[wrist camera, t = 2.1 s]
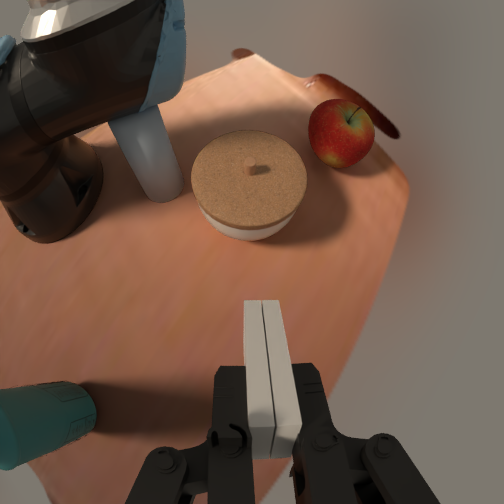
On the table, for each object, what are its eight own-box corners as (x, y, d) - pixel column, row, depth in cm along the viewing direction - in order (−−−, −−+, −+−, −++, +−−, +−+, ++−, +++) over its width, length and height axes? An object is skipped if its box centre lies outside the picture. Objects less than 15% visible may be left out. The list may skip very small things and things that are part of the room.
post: (142, 180, 35) (106, 110, 24) (178, 165, 36) (151, 90, 25) (150, 209, 33) (109, 136, 22) (189, 192, 34) (161, 113, 23)
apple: (335, 126, 39) (355, 75, 29) (369, 167, 36) (400, 120, 27) (289, 142, 37) (303, 86, 27) (324, 188, 35) (350, 137, 25)
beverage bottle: (82, 369, 27) (-60, 368, 8) (116, 418, 25) (-10, 475, 6) (49, 395, 25) (-82, 405, 6) (80, 442, 24) (-39, 493, 5)
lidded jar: (283, 167, 36) (296, 115, 27) (302, 248, 32) (325, 210, 23) (196, 176, 35) (186, 124, 26) (204, 260, 31) (192, 225, 22)
